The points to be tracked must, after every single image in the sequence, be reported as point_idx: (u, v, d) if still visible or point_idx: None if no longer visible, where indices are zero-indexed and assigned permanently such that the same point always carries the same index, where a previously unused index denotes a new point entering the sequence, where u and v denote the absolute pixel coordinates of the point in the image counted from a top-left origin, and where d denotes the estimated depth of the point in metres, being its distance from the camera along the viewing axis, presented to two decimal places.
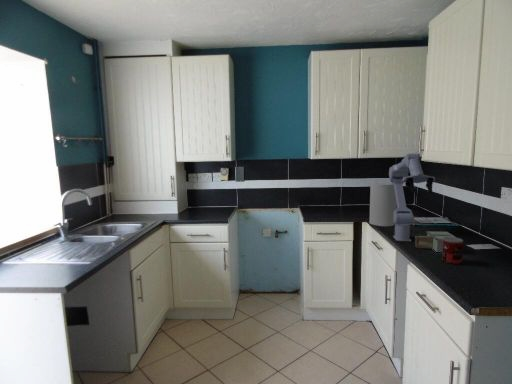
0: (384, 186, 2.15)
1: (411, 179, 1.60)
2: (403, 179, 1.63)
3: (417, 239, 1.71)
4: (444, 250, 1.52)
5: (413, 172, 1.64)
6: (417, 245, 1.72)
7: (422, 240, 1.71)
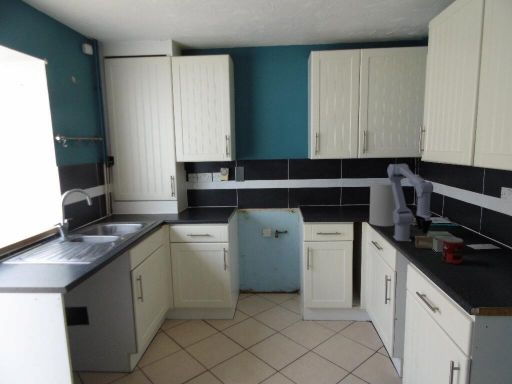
0: (384, 186, 2.15)
1: None
2: (428, 219, 1.63)
3: (417, 239, 1.71)
4: (444, 250, 1.52)
5: (428, 210, 1.67)
6: (417, 245, 1.72)
7: (422, 240, 1.71)
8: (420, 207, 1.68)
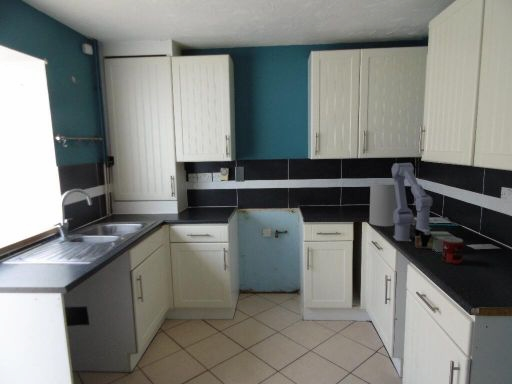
0: (384, 186, 2.15)
1: None
2: (428, 233, 1.64)
3: (417, 239, 1.71)
4: (444, 250, 1.52)
5: (427, 224, 1.68)
6: (417, 245, 1.72)
7: None
8: (419, 221, 1.69)
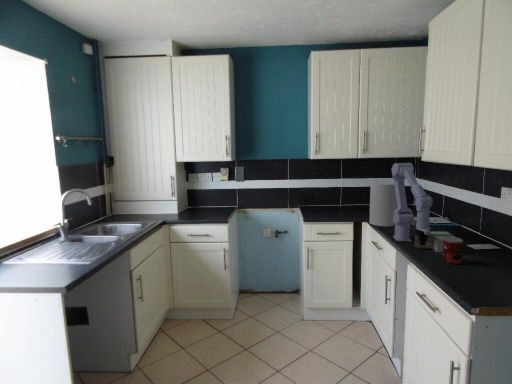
0: (384, 186, 2.15)
1: None
2: (428, 233, 1.64)
3: (417, 239, 1.71)
4: (444, 250, 1.52)
5: (427, 224, 1.68)
6: (417, 245, 1.72)
7: None
8: (419, 221, 1.69)
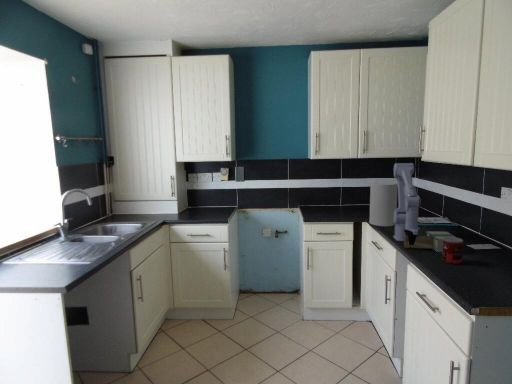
0: (384, 186, 2.15)
1: None
2: (416, 233, 1.65)
3: (406, 239, 1.72)
4: (444, 250, 1.52)
5: (416, 224, 1.69)
6: (406, 245, 1.73)
7: None
8: (408, 221, 1.70)
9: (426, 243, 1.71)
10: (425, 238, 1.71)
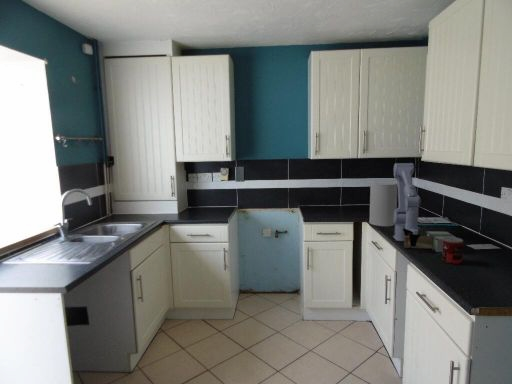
0: (384, 186, 2.15)
1: None
2: (416, 233, 1.65)
3: (406, 239, 1.72)
4: (444, 250, 1.52)
5: (416, 224, 1.69)
6: (406, 245, 1.73)
7: None
8: (408, 221, 1.70)
9: (426, 243, 1.71)
10: (425, 238, 1.71)
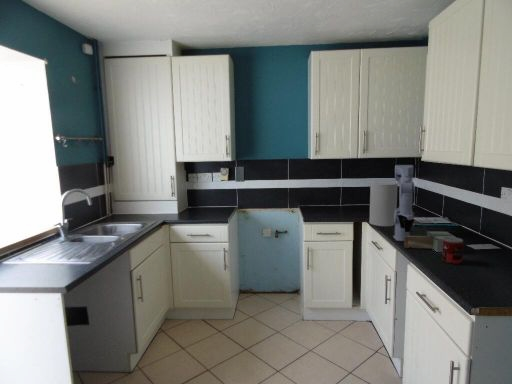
0: (384, 186, 2.15)
1: None
2: (410, 218, 1.66)
3: (406, 239, 1.72)
4: (444, 250, 1.52)
5: (410, 209, 1.70)
6: (406, 245, 1.73)
7: (411, 240, 1.72)
8: (403, 207, 1.71)
9: (426, 243, 1.71)
10: (425, 238, 1.71)
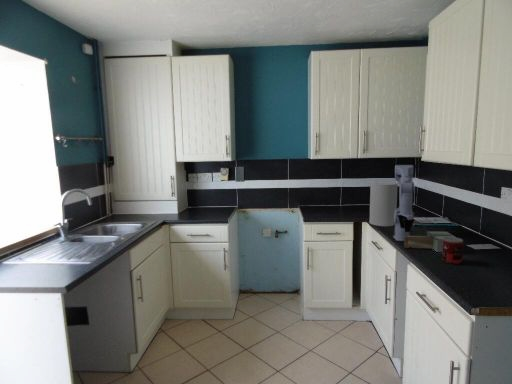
0: (384, 186, 2.15)
1: None
2: (410, 218, 1.66)
3: (406, 239, 1.72)
4: (444, 250, 1.52)
5: (410, 209, 1.70)
6: (406, 245, 1.73)
7: (411, 240, 1.72)
8: (403, 207, 1.71)
9: (426, 243, 1.71)
10: (425, 238, 1.71)
